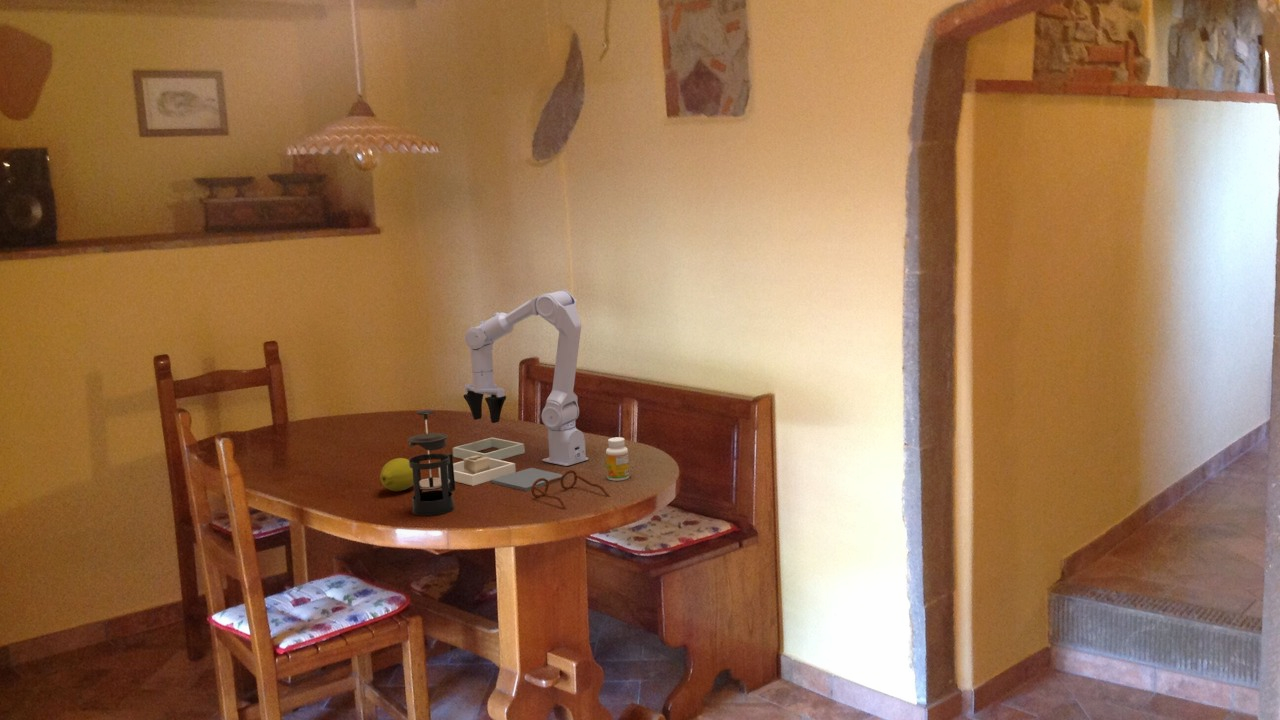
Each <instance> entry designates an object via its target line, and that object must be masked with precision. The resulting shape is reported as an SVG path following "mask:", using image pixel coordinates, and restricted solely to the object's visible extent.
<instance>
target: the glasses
mask: <svg viewBox="0 0 1280 720" xmlns="http://www.w3.org/2000/svg"><path fill="white" fill-rule="evenodd" d="M568 474H573V476H574V478H573V482H572V484H571V485H569V486H565V485H564V480H565V479H564V477H565V476H566V477H567V475H568ZM578 479H579V480H581V481H582V482H584V483H585V484H587V485H589V486H591V487H596V488H597V489H600V490H601V492H603V494H604V495H605V496H606V497H609V498H610V497H611V495H610V493H609V492H608V491H607V490H606V489H605V488H604V486H602V485H600V484H598V483H593V482H591V481H590V480H588V479H586V478H584V477H582V476H581V475H579V474H577V471H575V470H571V469H570V470H566V471H565V472H564V473H563V474H562V477H561V478H555V479H551V480H549V481H548V480H547V479H545V478H539V479H537V480H536V481H535V482H534V483H533V485H532V489H531V490H530V491H531V495H532V496H533V497H534V498H536V499H538V498H541V496H542V497H544V496H545V497H547V498H549V499H555V500H557V501H558V502H559V503H560V505H561V506H562V508H563V509H565V510H568V507H567V506H566V504H565V503H564V501H563V500H562V498H561V497H559V496H558V495H557V496H556V495H552V494H549V493H547V492H548V490H549V486H550V485H551V484H552V483H551V482H554V483H556V482H555V481H557V482H559V481H558V480H560V487H561V488H562V489H563V490H566V489H567V490H569V488H570V489H572V488H573V487H575V485H576V484H577V481H578ZM540 481H545V482H546V485H545V487H544V490H543V489H541V488H540V487H536V486H535V485H536V484H537V483H538V482H540ZM550 483H551V484H550ZM535 491H538V492H539V493H540V494H536V493H535Z"/></svg>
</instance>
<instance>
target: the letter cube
mask: <svg viewBox="0 0 1280 720" xmlns="http://www.w3.org/2000/svg"><path fill="white" fill-rule="evenodd" d="M462 461H464V473H468V474H472V475H473V474H476V473H480V472H483V471H487V470H490V466H489V458H488V457H484V456H479V455H476V456H473V457H469V458H466V459H462Z"/></svg>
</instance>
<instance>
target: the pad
mask: <svg viewBox="0 0 1280 720" xmlns="http://www.w3.org/2000/svg"><path fill="white" fill-rule="evenodd" d="M562 475H563V474H561V473H557V472H553V471H547V470H544V469H540V468H535V467H529V468H525V469H522V470H519V471H516V472H515V473H512V474H508V475H505V476H501V477H498V478H495V479H491V481H490V483H491V484H494V485H499V486H503V487H507V488H512V489H516V490H520V491H523V492H527V491H531V489H532V485H533V483H534V482H535V481H536V480H537V479H539V478H545V479H547V480H548V481H549V480H551V479H555V478H561V477H562ZM566 479H567V475H566V476H565V477H564V480H566ZM557 482H561V480H558V481H555V482H551V483H550V484H549V485H551V484H553V483H557ZM535 486H536V487H538V488H540V487H544V486H546V482H545V481H540V482H538V483H537V484H536V485H535Z"/></svg>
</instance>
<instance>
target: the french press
mask: <svg viewBox="0 0 1280 720" xmlns="http://www.w3.org/2000/svg"><path fill="white" fill-rule="evenodd" d="M434 413H436V412H435V410H432V409H421V410H418V411H416V412H415V414H416V415H418V416H419V415H421V416H423V417H422V418H423V420H425V422H424V423H425V433H421V434H419V433H418V434H416V435H412V436H409V437H408V438H407V443H409V448H413V447H414V446H417V445H418V446H420V447H421V448H423V449H424V450H426V451H427V453H425V454H420V455H416V456H413V457H410V458H409V459H408V460H409V466H410V468H412V471H413V482H414V483H413V484H412V487H413V489H414V490H413V492H414V494H413V496H412V498H411V500H412V501H411V502H412V514H413V515H415V516H420V517H436V516H441V515H445V514H448V513H451V512H453V511H454V510H455V505H454V499H453V493H452V492H454V491H456V483H455V482H456V481H455V480H454V467H453V464H454V459H453V458H454V457H453V453H449V452H445V453H430V451H431V452H432V451H437V450H441V449H443V448H446V447H447V439H448V438H449V437H448V434H447V433H442V432H429V429H428V418H429V415H431V414H434ZM432 460H440V461H436V462H431V461H432ZM422 461H428V463H427V462H426V463H421V462H422ZM438 468H440V473H441V478H440V477H432V470H434V469H438ZM447 468H448V471H447ZM422 470H428V471H429V477H427V478H423V479H422V476H421V474H422V473H421V471H422ZM440 489H441V490H440Z"/></svg>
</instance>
